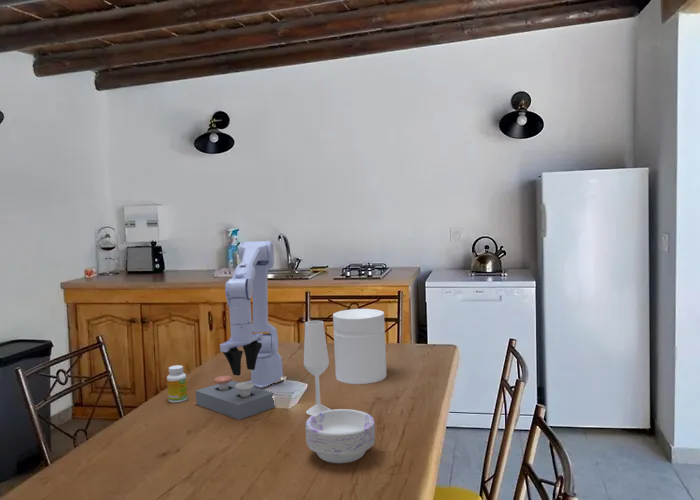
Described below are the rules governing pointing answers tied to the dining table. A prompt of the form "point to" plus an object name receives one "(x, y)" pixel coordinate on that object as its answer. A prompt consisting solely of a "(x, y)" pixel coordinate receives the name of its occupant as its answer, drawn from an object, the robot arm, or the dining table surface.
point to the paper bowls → (340, 434)
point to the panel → (234, 401)
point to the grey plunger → (244, 389)
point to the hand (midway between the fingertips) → (243, 372)
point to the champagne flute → (315, 358)
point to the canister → (359, 346)
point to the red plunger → (223, 382)
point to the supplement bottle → (177, 384)
